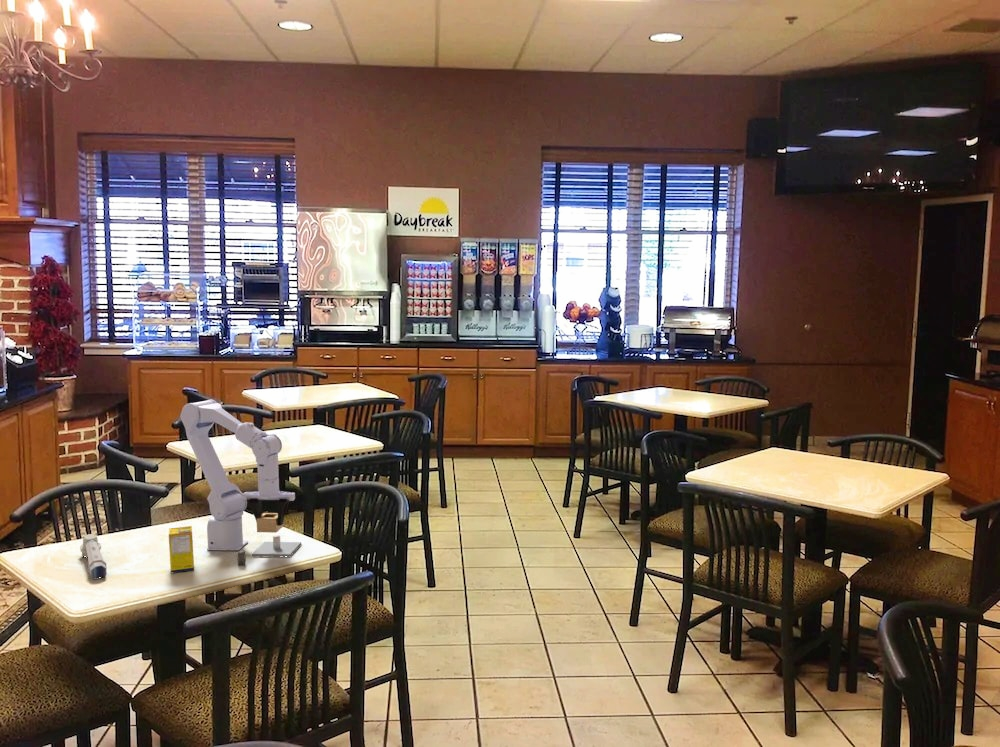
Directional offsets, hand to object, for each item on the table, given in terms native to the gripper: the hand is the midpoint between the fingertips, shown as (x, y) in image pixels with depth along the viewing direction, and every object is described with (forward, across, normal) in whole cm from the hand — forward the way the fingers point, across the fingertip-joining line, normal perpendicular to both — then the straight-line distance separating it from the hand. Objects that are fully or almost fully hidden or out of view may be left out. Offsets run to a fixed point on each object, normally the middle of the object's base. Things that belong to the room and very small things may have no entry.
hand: (270, 524), depth 239 cm
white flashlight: (+9, -45, -13) cm, 48 cm away
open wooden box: (+1, 0, 0) cm, 1 cm away
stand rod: (+8, -5, -10) cm, 14 cm away
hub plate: (+8, +1, +2) cm, 9 cm away
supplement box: (+9, -20, -14) cm, 26 cm away
